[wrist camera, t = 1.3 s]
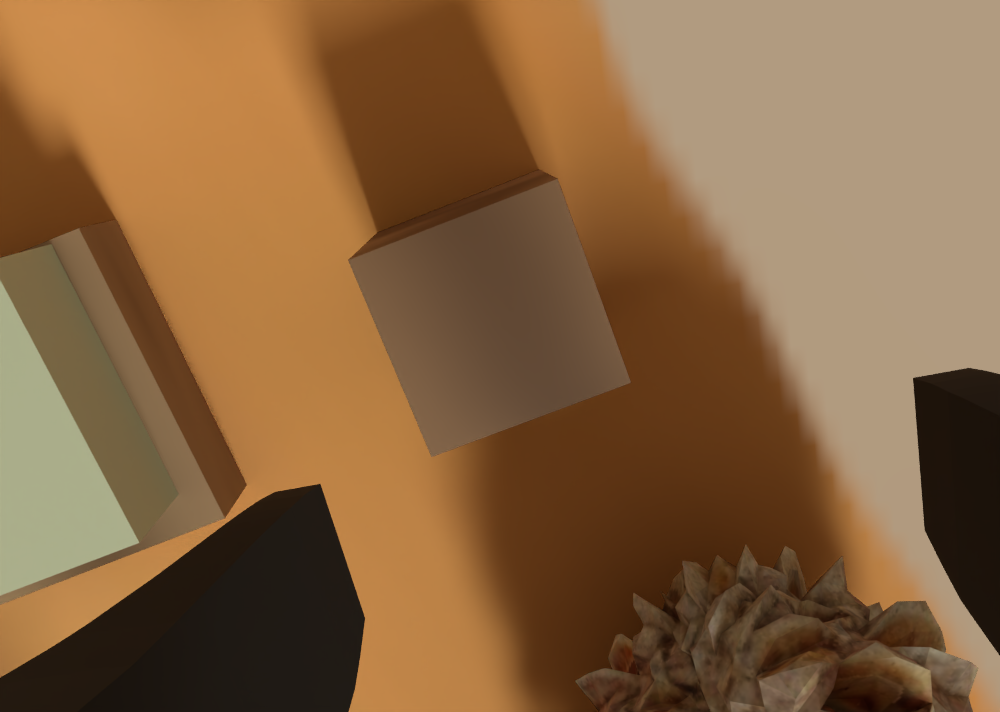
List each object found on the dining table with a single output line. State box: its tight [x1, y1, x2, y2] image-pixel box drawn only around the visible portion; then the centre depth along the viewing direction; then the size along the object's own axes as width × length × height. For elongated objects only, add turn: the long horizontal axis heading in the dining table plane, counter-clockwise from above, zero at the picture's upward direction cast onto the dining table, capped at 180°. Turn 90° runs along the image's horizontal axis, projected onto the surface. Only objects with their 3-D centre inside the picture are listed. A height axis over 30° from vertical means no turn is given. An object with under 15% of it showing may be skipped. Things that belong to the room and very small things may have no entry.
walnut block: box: [348, 170, 631, 457], centre depth 19 cm, size 4×4×5 cm
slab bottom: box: [0, 220, 247, 605], centre depth 21 cm, size 7×7×2 cm
